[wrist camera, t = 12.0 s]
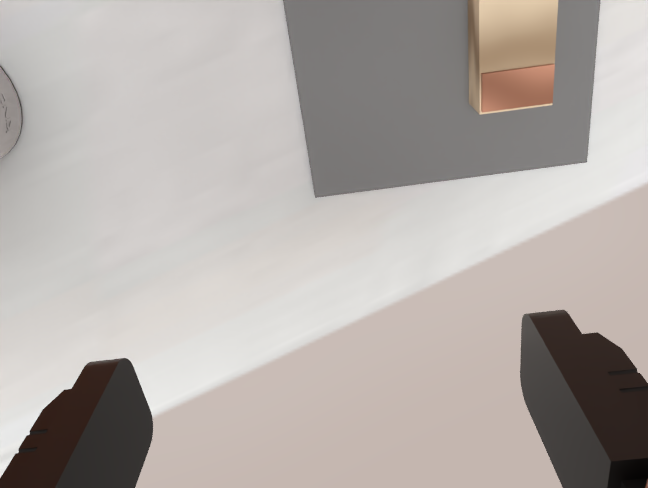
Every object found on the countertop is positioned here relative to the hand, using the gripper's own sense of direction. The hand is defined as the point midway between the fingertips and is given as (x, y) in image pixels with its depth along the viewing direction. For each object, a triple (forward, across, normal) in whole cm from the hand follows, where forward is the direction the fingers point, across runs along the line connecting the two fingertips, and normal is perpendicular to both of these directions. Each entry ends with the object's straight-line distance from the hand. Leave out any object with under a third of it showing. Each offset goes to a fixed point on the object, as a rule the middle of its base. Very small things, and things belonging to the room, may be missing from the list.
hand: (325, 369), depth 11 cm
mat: (+30, -8, +2) cm, 31 cm away
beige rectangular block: (+30, -12, -1) cm, 32 cm away
